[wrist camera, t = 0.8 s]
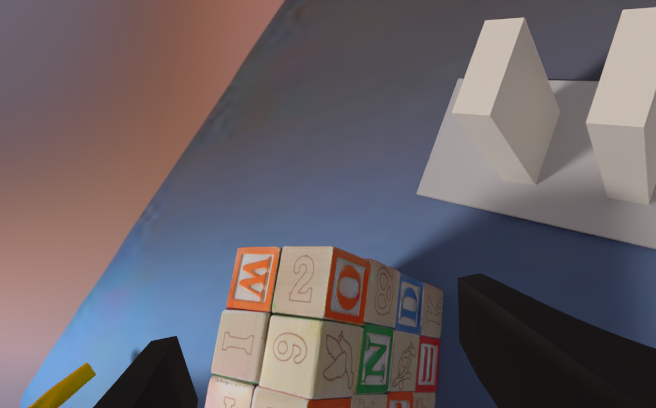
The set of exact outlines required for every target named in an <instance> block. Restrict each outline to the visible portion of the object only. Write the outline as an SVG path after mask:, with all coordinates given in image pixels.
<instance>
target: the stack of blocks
mask: <svg viewBox="0 0 656 408" xmlns="http://www.w3.org/2000/svg"><path fill="white" fill-rule="evenodd" d="M442 308H443V290H441V289H439V288H436V287H434V286H432V285H429V284H427V283H422V282H420V281H418V280H416V279H414V278H412V277H409V276H407V275H405V274H403V273H400V272H399V271H398V270H396V269H394V268H392V267H389V266H387V265H385V264H382V263H380V262H378V261H375V260H372V259H363V258H360V257H358V256H356V255H353V254H351V253H348V252H346V251H344V250H341V249H339V248H336V247H333V246H284V247H283V248H280V247H242V248H239V249H238V251H237V256H236V261H235V266H234V271H233V277H232V281H231V285H230V291H229V296H228V301H227V309H225V310H224V311H223V312H222V316H221V322H220V326H219V331H218V336H217V342H216V347H215V352H214V357H213V363H212V368H211V372H212V374H213V377H212V378H211V379H210V381H209V386H208V391H207V397H206V403H205V408H435V393H436V391H437V381H438V364H439V348H440V336H441V323H442Z"/></svg>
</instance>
